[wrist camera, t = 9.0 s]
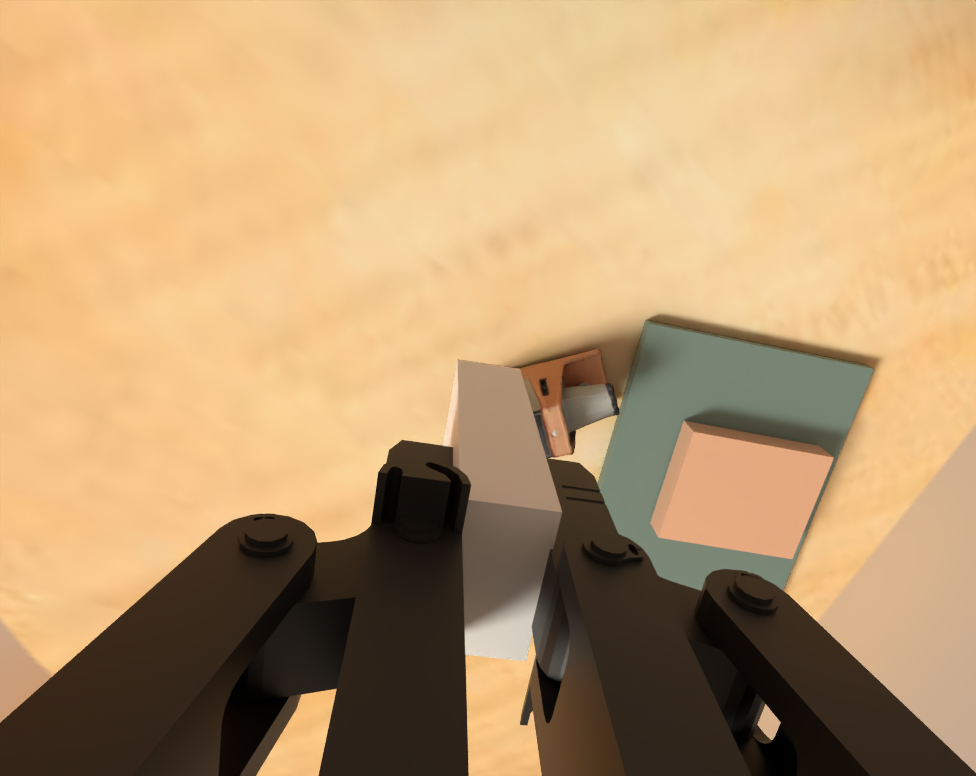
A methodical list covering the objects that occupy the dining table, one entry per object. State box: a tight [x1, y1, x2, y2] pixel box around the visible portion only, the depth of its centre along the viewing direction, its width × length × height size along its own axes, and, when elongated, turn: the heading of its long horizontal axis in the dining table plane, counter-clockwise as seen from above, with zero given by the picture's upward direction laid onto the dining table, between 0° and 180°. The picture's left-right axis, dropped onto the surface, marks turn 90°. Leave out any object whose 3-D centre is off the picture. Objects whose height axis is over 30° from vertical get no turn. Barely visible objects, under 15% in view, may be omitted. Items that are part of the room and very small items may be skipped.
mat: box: [598, 320, 874, 591], centre depth 48 cm, size 20×16×1 cm
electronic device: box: [518, 349, 620, 458], centre depth 42 cm, size 4×10×8 cm, turn 106°
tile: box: [650, 421, 834, 559], centre depth 47 cm, size 8×2×10 cm
